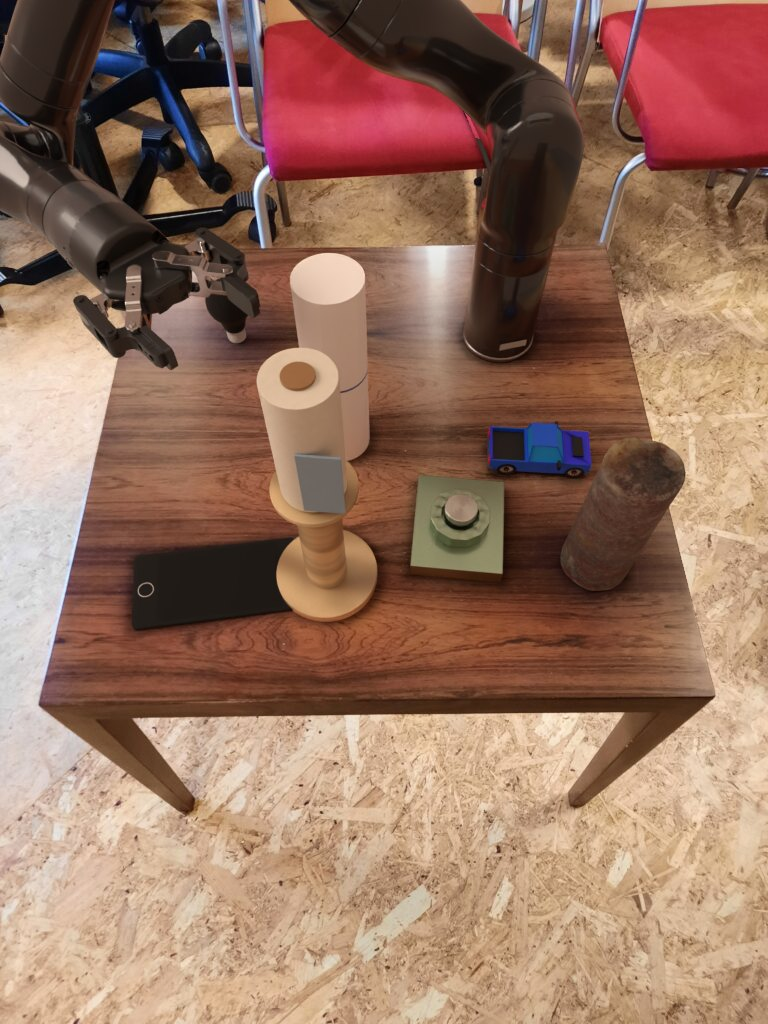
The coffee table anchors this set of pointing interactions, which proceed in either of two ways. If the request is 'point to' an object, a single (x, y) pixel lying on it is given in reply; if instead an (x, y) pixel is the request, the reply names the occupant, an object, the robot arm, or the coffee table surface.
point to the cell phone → (207, 584)
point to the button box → (458, 531)
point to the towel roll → (305, 428)
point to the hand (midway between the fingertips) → (215, 334)
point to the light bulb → (227, 316)
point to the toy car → (538, 450)
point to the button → (460, 511)
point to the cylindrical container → (337, 333)
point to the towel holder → (324, 560)
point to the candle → (621, 512)
